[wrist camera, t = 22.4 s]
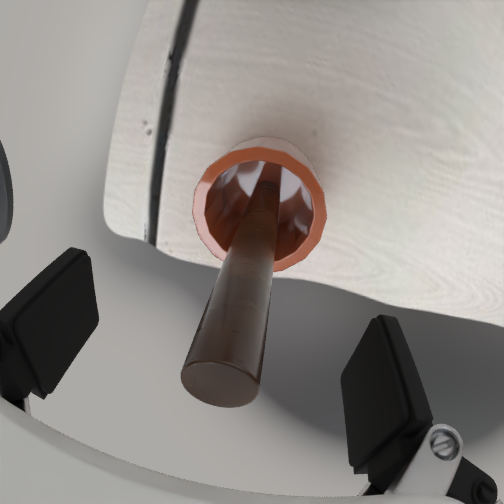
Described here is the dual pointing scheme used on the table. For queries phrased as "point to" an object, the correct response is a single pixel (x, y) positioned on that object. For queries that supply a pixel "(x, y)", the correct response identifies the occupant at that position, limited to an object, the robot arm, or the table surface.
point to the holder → (241, 187)
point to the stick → (237, 311)
